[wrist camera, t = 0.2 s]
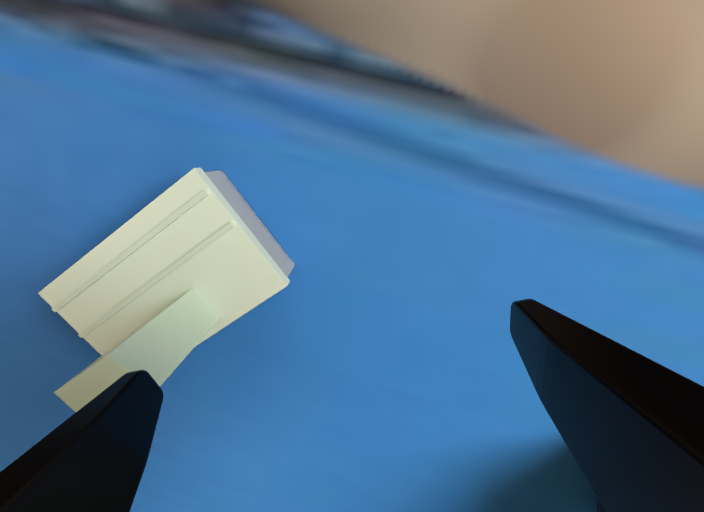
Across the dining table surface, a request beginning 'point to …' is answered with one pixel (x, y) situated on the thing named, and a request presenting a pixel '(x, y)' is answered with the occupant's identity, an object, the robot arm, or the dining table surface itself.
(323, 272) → the dining table surface
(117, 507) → the robot arm
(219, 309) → the pale green grooved stand
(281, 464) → the dining table surface
